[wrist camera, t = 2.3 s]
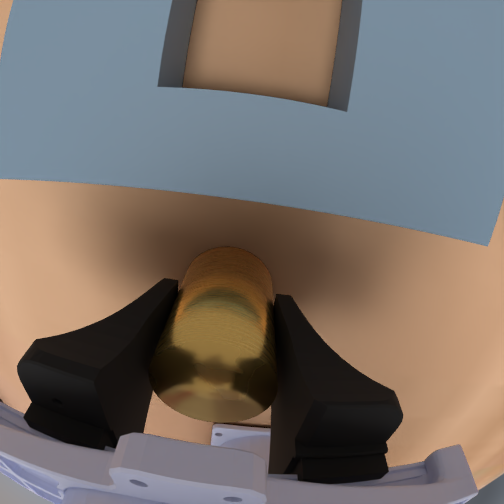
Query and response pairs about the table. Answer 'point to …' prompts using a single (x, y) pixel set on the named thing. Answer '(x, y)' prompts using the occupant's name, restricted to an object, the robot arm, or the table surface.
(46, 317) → the table surface
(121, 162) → the jig
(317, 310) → the table surface
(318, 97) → the table surface
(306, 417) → the robot arm
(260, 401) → the brass cylinder
